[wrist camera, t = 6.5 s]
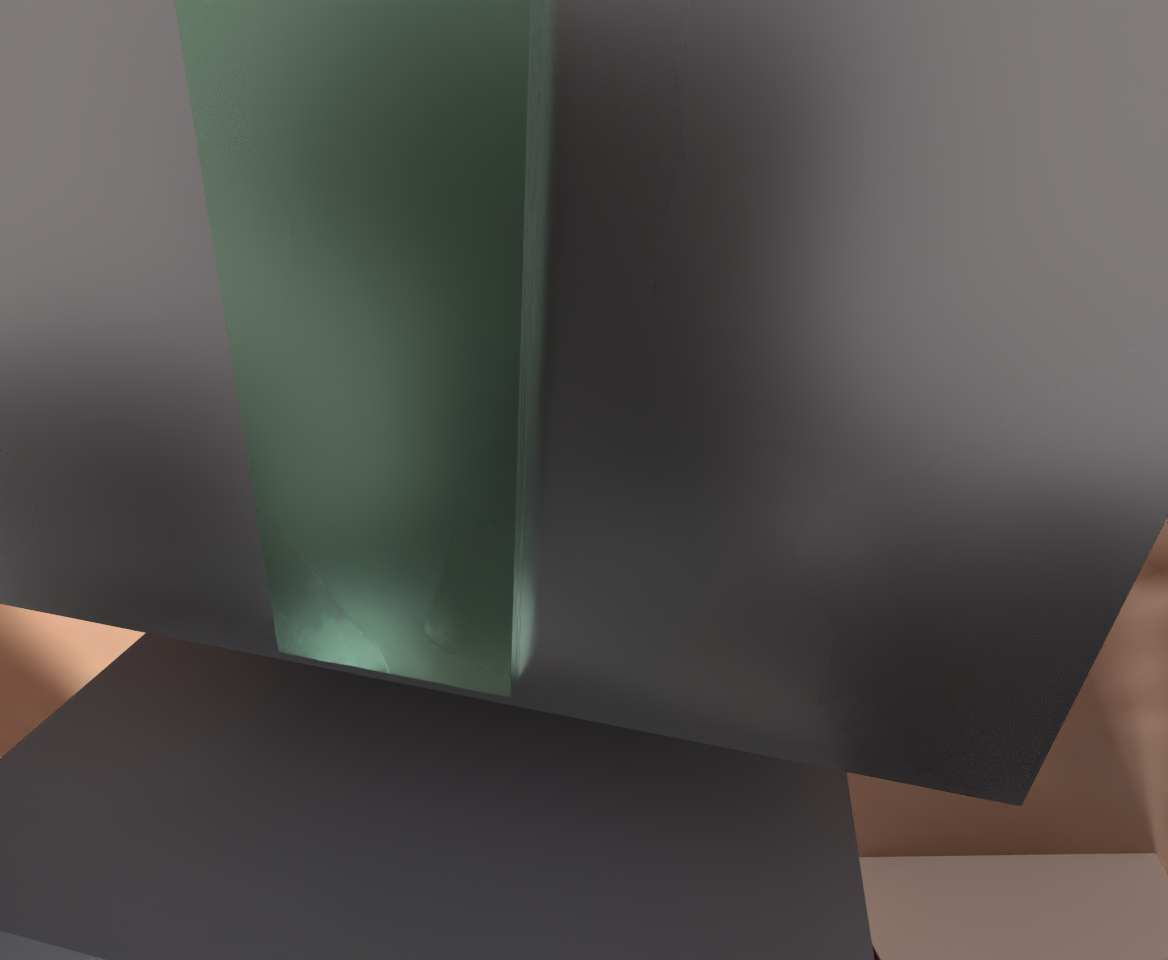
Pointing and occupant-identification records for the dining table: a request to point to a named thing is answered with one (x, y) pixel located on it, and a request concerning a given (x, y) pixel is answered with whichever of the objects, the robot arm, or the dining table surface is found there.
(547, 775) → the block
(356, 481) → the grey metal u-shaped block
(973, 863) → the block
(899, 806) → the dining table surface
